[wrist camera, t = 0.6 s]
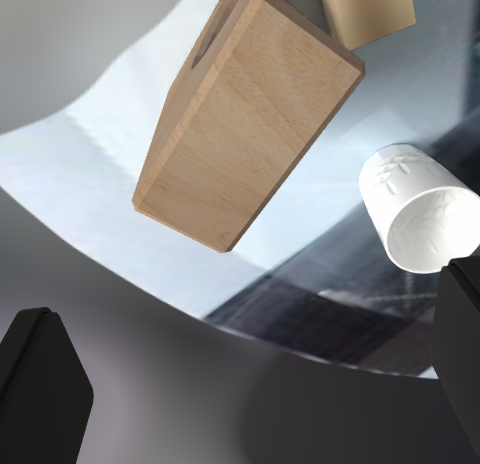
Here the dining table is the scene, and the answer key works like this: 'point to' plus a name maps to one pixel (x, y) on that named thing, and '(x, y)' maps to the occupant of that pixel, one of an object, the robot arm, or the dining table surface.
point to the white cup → (419, 209)
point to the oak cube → (366, 19)
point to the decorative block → (241, 118)
